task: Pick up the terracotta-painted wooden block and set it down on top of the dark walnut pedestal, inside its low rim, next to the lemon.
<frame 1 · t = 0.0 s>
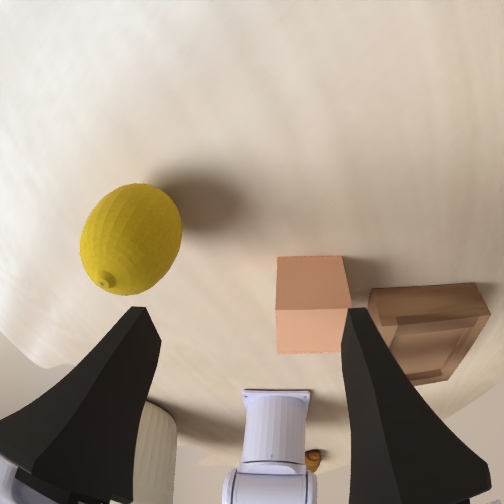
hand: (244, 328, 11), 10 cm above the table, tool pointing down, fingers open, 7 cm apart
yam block: (308, 280, 23), on the table
walnut base: (412, 325, 25), on the table
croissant: (304, 454, 52), on the table
lemon: (156, 201, 20), on the table
canister: (139, 407, 42), on the table
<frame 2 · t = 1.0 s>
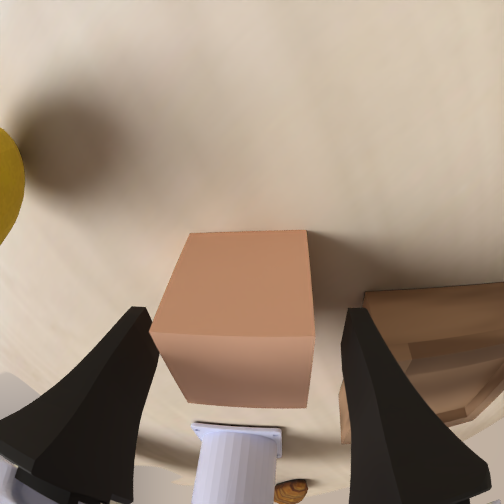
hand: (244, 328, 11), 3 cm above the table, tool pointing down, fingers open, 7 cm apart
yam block: (252, 275, 13), on the table
walnut base: (428, 347, 15), on the table
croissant: (288, 481, 43), on the table
lemon: (19, 152, 10), on the table
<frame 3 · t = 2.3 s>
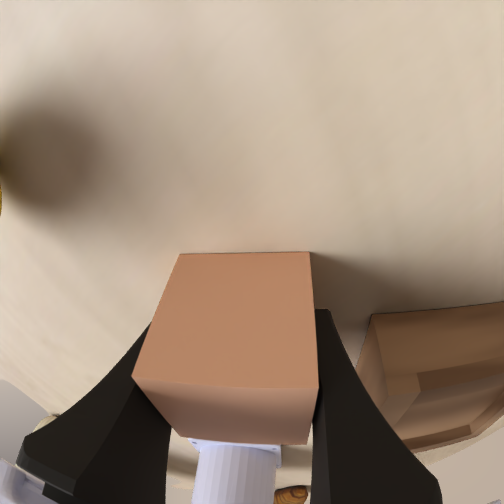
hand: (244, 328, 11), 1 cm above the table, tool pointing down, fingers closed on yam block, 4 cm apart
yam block: (248, 299, 12), on the table, touching gripper
walnut base: (435, 366, 14), on the table
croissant: (288, 487, 42), on the table
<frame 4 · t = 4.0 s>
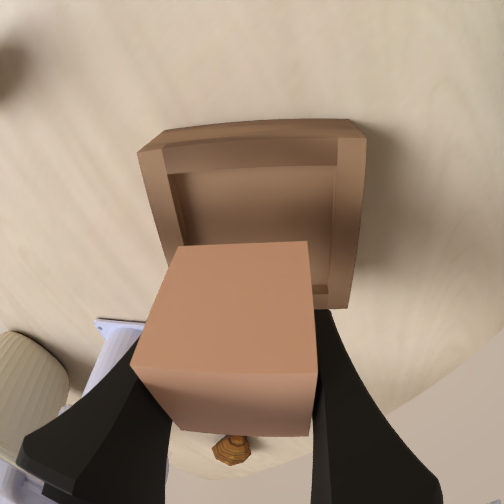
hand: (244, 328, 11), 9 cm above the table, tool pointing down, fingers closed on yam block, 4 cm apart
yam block: (248, 291, 12), point 8 cm above the table, touching gripper
walnut base: (261, 203, 18), on the table
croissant: (233, 439, 46), on the table
canister: (37, 354, 36), on the table
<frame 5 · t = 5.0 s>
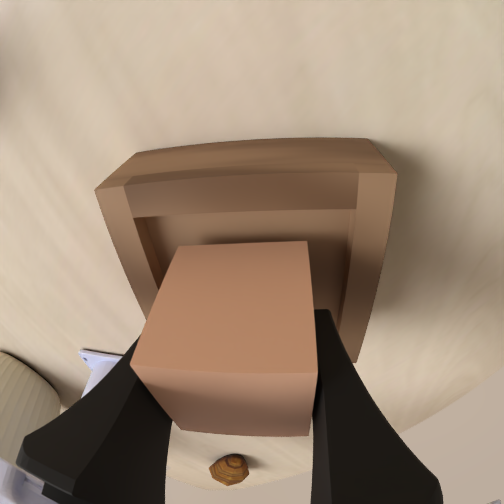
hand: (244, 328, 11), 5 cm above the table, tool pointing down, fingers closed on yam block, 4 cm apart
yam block: (248, 291, 12), point 4 cm above the table, touching gripper
walnut base: (256, 240, 15), on the table
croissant: (230, 458, 42), on the table
canister: (27, 373, 33), on the table
when the fingers open (5 cm above the table, at t = 5.5 s): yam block stays where it is, resting on walnut base.
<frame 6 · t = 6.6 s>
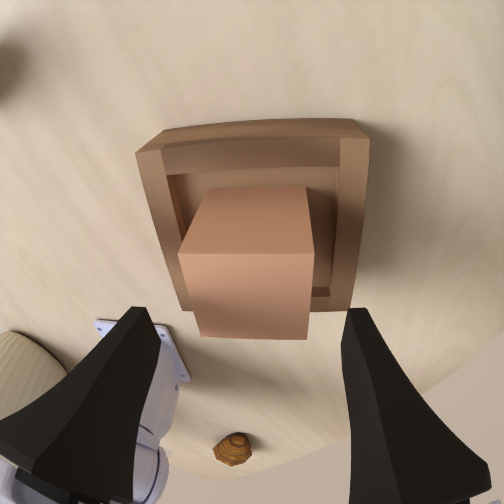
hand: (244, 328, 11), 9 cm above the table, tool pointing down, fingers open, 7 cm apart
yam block: (258, 228, 15), point 3 cm above the table, touching walnut base
walnut base: (262, 204, 18), on the table
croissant: (233, 439, 45), on the table
canister: (37, 354, 35), on the table
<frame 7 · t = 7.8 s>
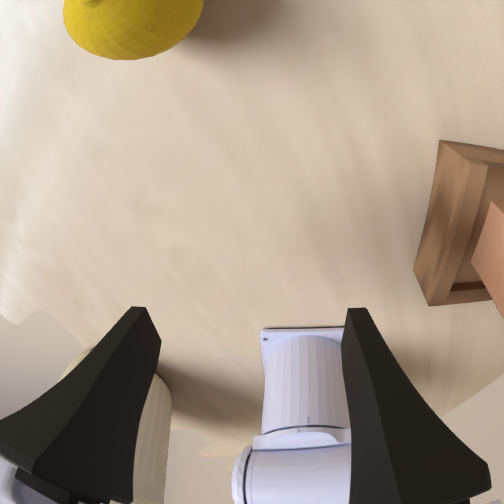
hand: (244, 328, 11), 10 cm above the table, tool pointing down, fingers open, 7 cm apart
walnut base: (482, 213, 17), on the table
lemon: (169, 11, 12), on the table
canister: (125, 372, 35), on the table
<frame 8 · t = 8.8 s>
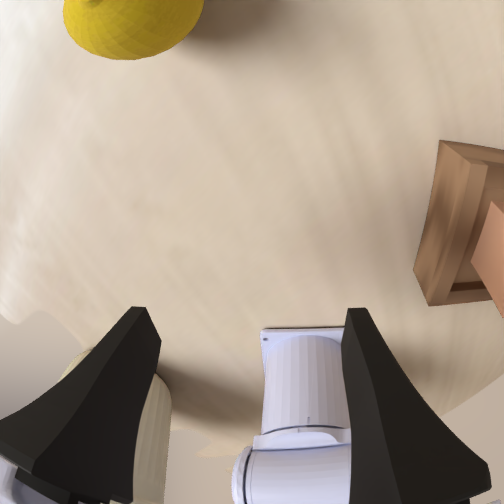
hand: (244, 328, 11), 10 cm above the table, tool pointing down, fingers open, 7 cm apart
walnut base: (482, 213, 17), on the table
lemon: (169, 11, 12), on the table
canister: (125, 372, 35), on the table
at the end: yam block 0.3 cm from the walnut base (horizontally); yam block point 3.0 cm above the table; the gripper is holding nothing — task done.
